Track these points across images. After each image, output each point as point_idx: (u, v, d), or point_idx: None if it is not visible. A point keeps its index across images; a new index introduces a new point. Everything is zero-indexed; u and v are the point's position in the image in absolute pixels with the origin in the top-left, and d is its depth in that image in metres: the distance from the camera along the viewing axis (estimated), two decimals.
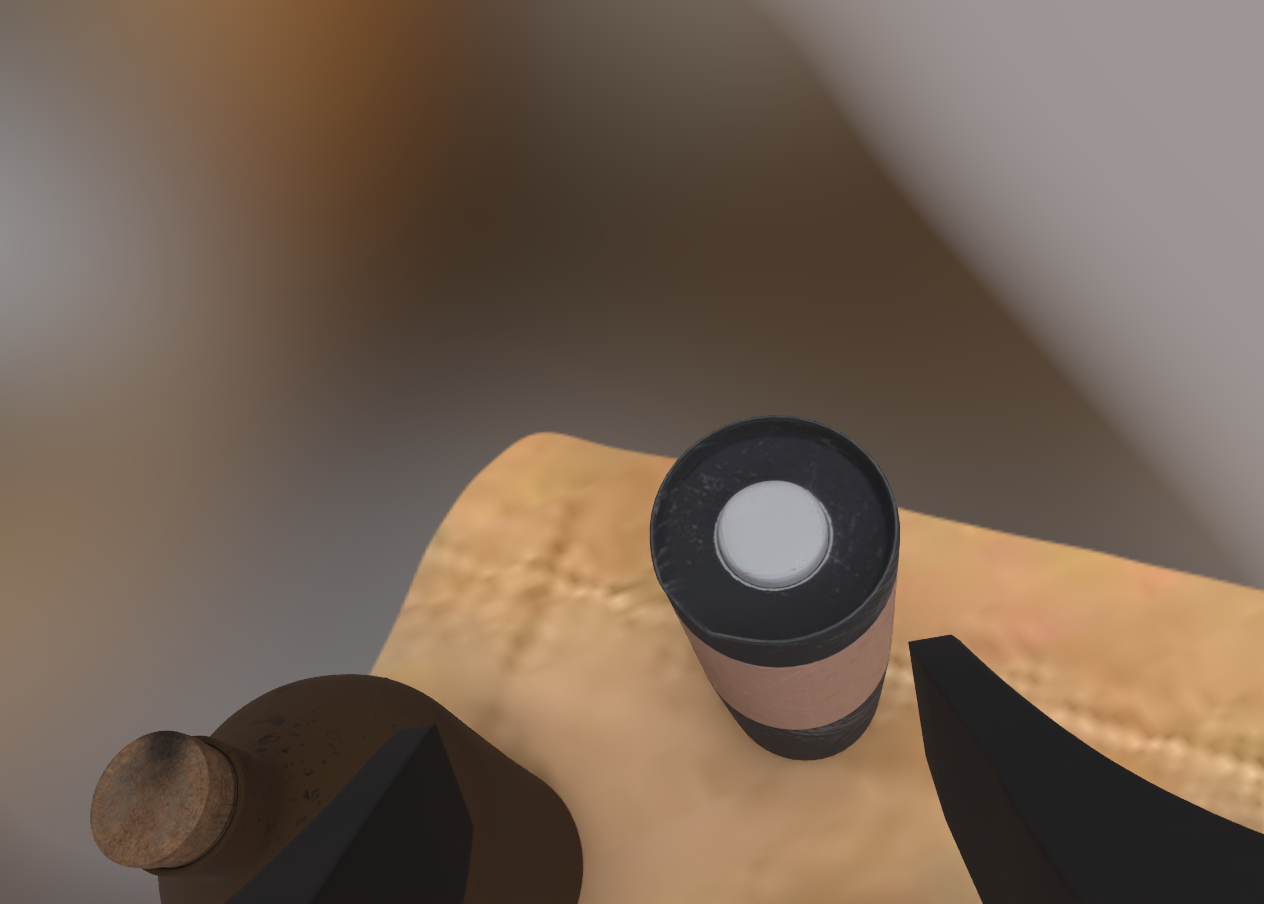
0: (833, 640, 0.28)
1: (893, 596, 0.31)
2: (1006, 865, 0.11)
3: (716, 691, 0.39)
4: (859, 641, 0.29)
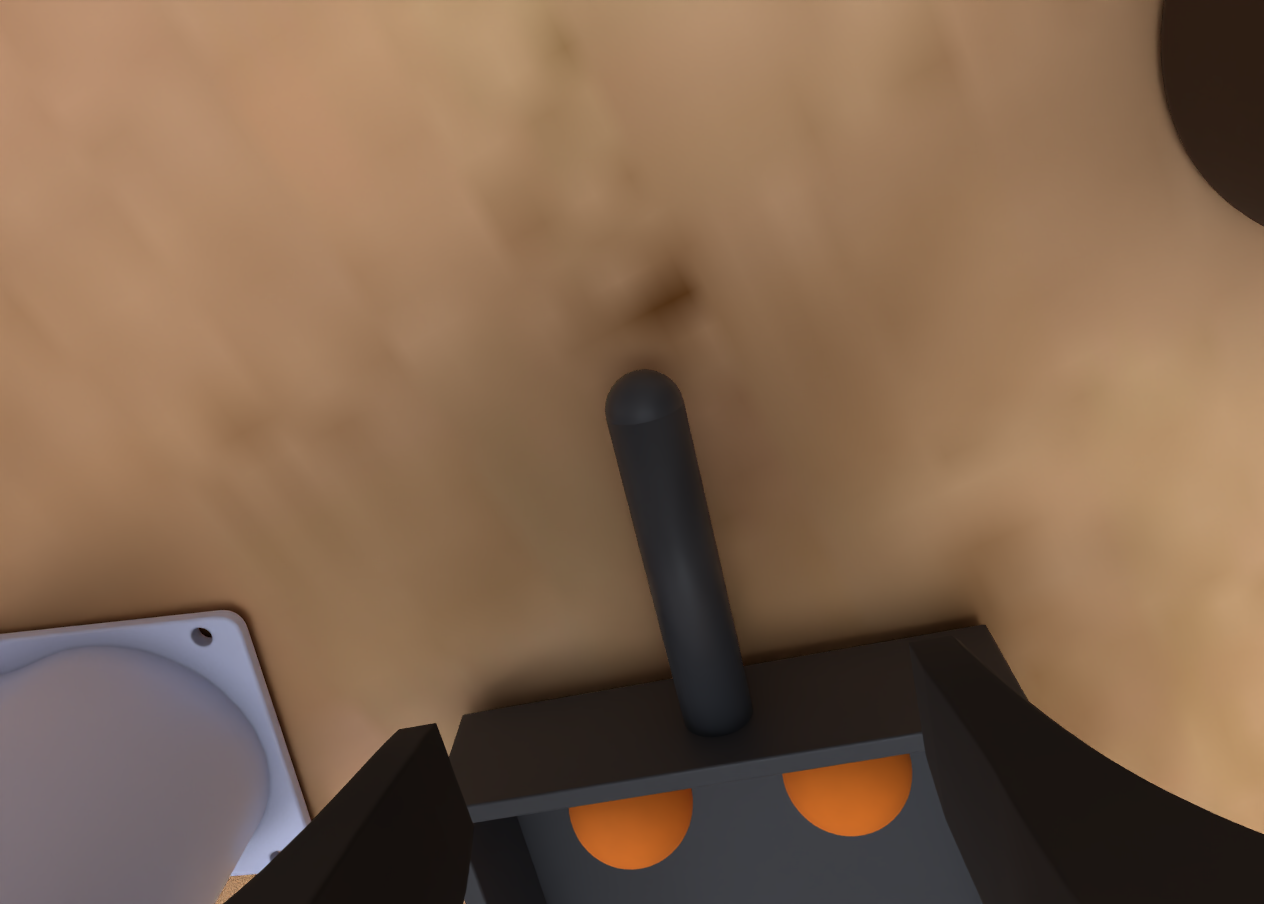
0: None
1: None
2: (1006, 865, 0.11)
3: None
4: None
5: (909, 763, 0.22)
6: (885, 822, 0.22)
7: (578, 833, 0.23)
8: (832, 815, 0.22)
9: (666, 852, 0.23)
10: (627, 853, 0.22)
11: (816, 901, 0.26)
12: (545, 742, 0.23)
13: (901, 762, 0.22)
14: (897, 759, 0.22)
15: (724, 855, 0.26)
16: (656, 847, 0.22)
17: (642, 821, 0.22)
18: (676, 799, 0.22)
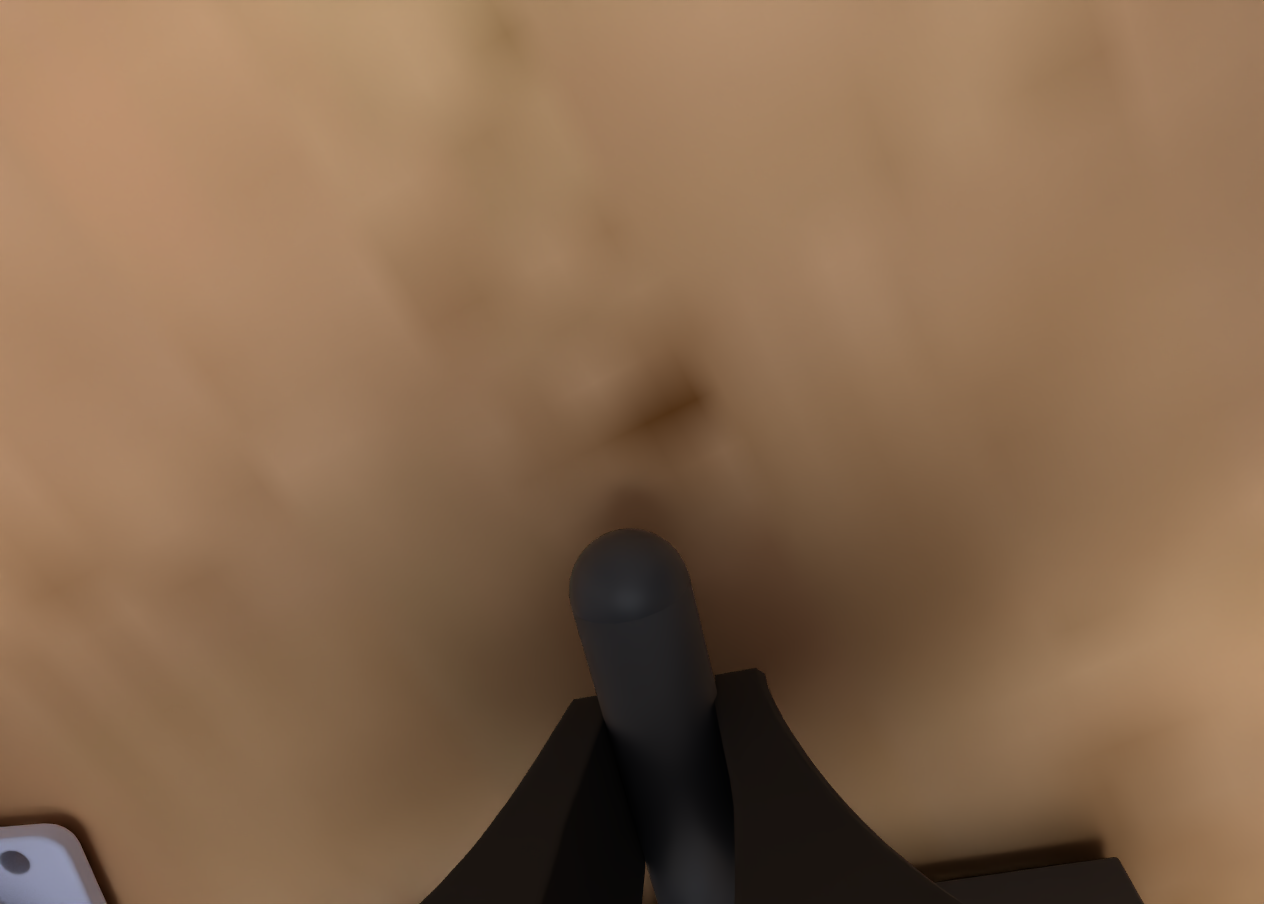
0: None
1: None
2: None
3: None
4: None
5: None
6: None
7: None
8: None
9: None
10: None
11: None
12: None
13: None
14: None
15: None
16: None
17: None
18: None
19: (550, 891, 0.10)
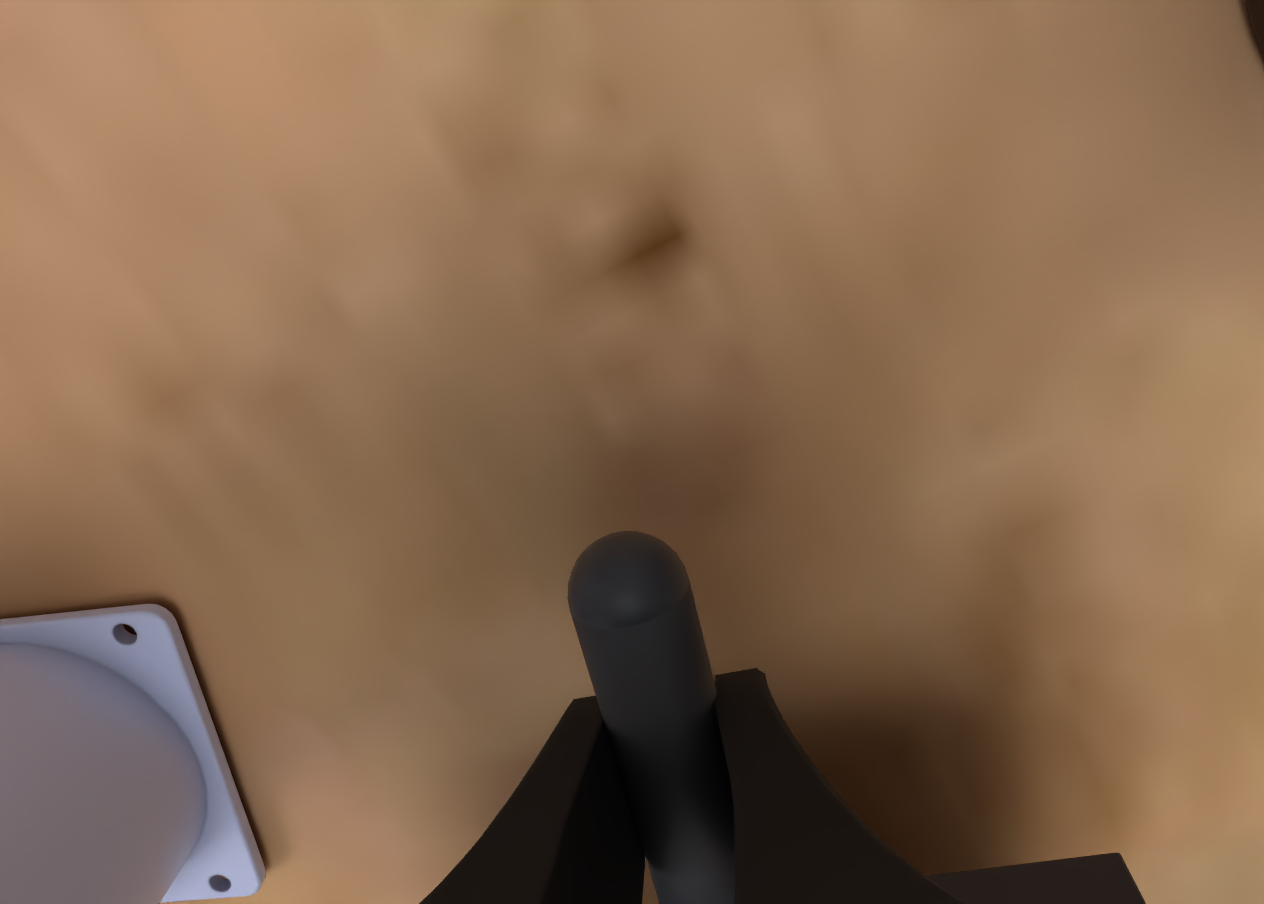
0: None
1: None
2: None
3: None
4: None
5: None
6: None
7: None
8: None
9: None
10: None
11: None
12: None
13: None
14: None
15: None
16: None
17: None
18: None
19: (549, 890, 0.10)
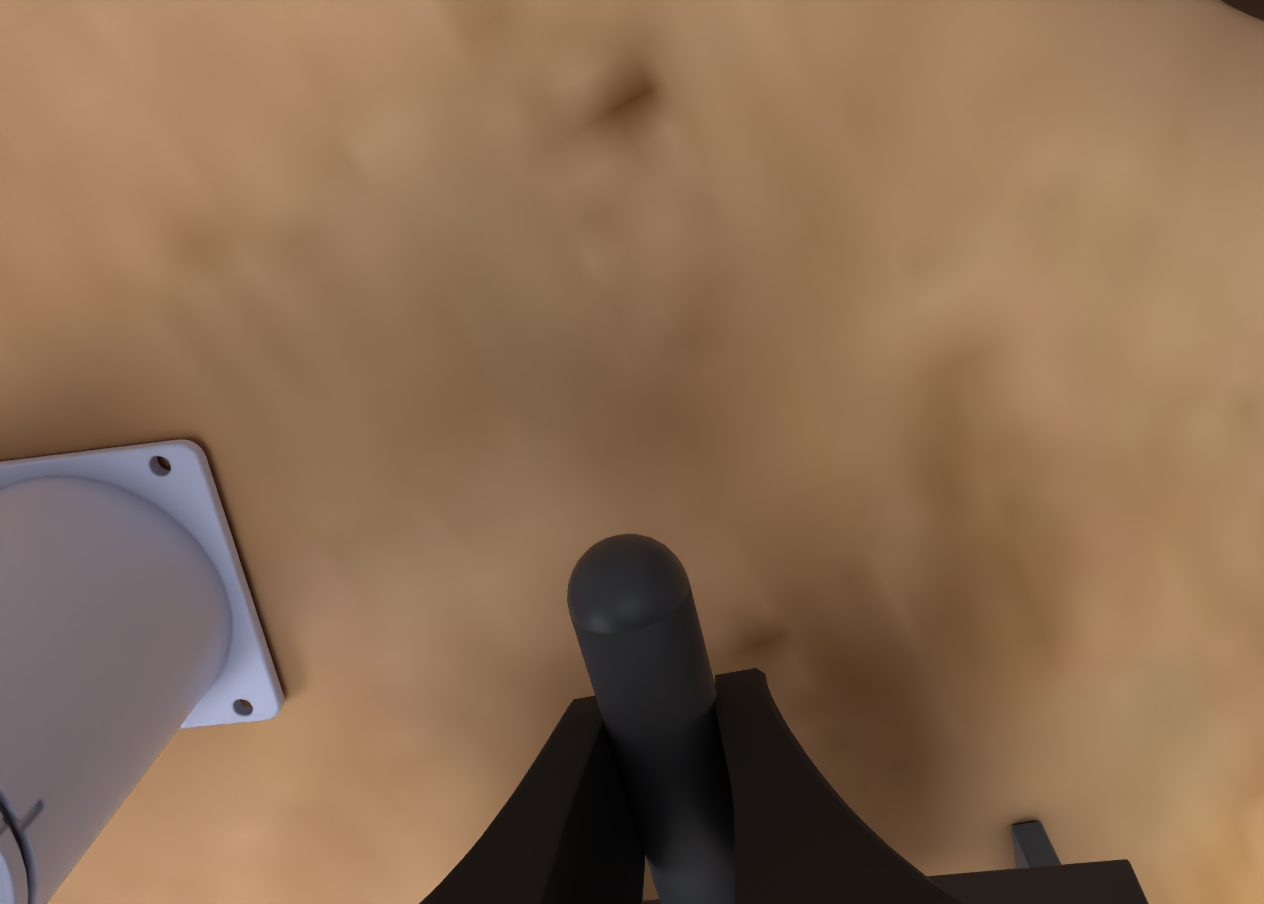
0: None
1: None
2: None
3: None
4: None
5: None
6: None
7: None
8: None
9: None
10: None
11: None
12: None
13: None
14: None
15: None
16: None
17: None
18: None
19: (549, 890, 0.10)
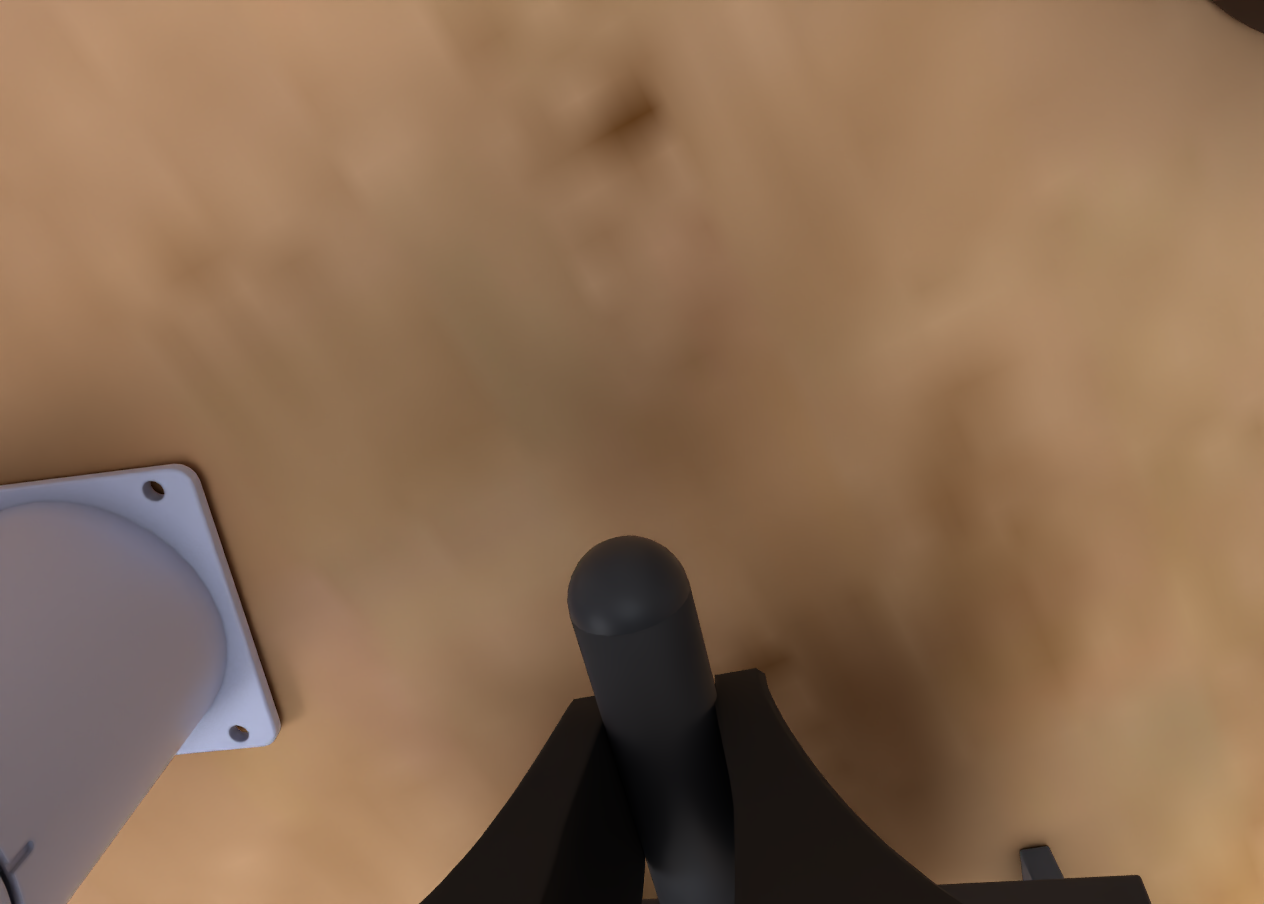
0: None
1: None
2: None
3: None
4: None
5: None
6: None
7: None
8: None
9: None
10: None
11: None
12: None
13: None
14: None
15: None
16: None
17: None
18: None
19: (550, 891, 0.10)
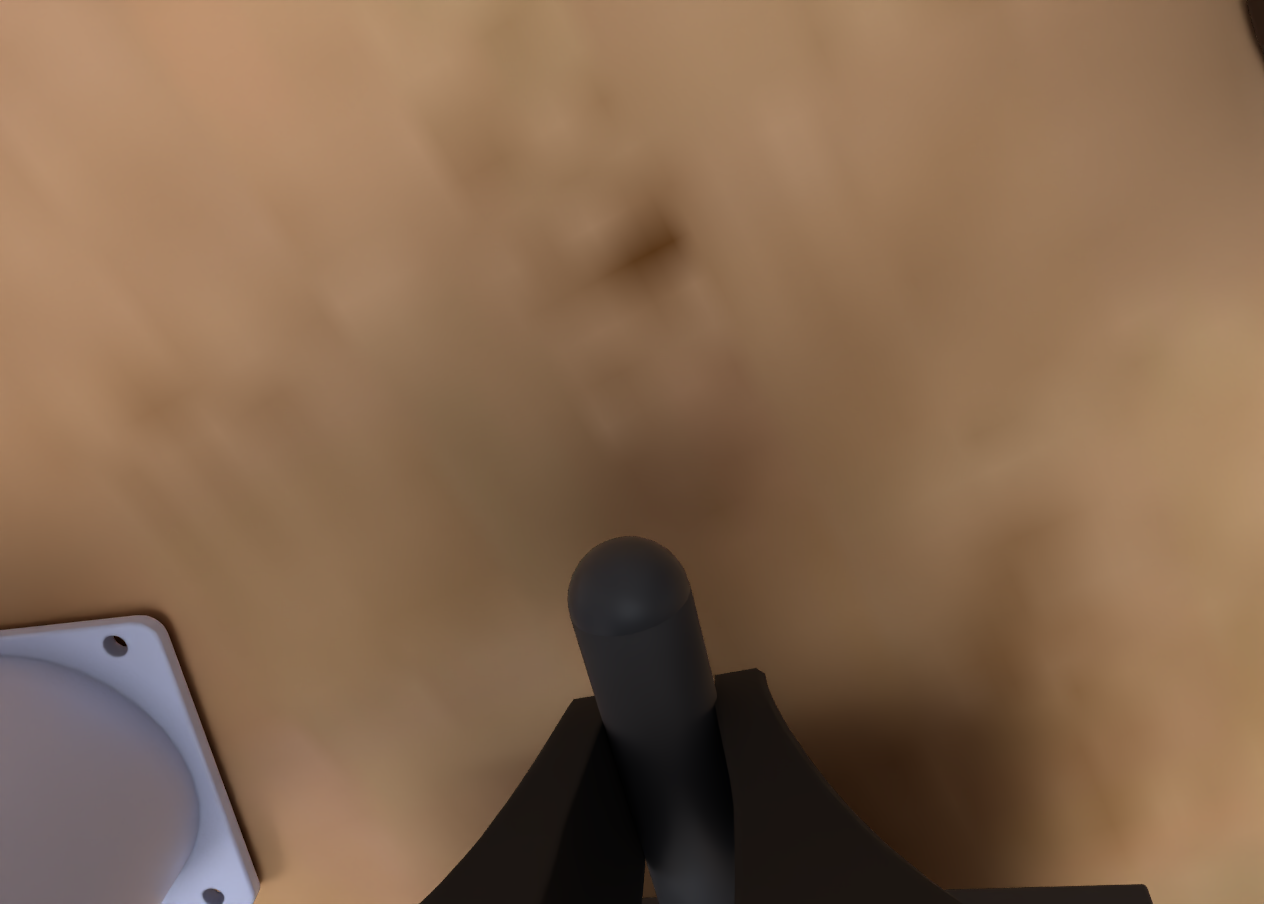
0: None
1: None
2: None
3: None
4: None
5: None
6: None
7: None
8: None
9: None
10: None
11: None
12: None
13: None
14: None
15: None
16: None
17: None
18: None
19: (550, 891, 0.10)
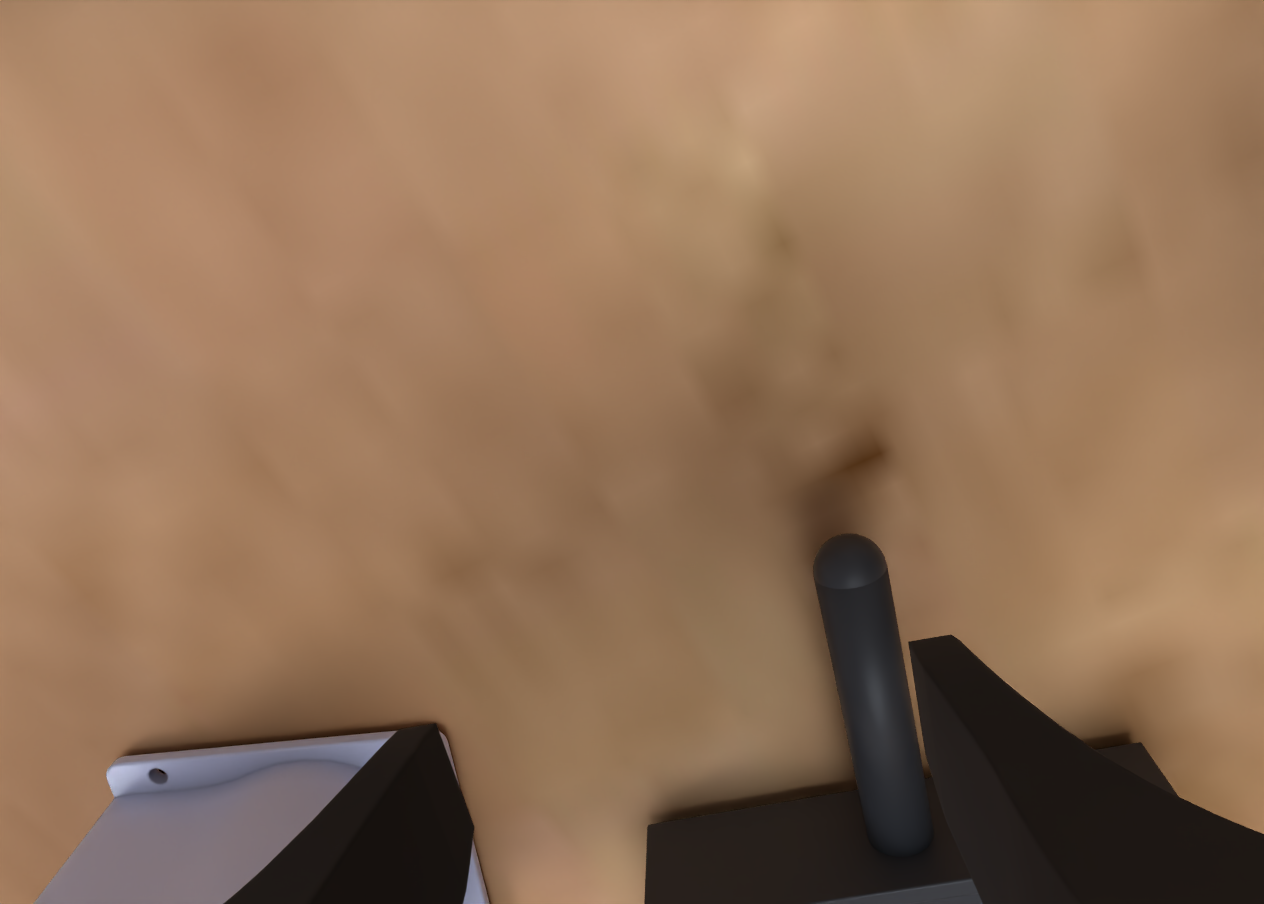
0: None
1: None
2: (1006, 865, 0.11)
3: None
4: None
5: None
6: None
7: None
8: None
9: None
10: None
11: None
12: (737, 857, 0.25)
13: None
14: None
15: None
16: None
17: None
18: None
19: None
